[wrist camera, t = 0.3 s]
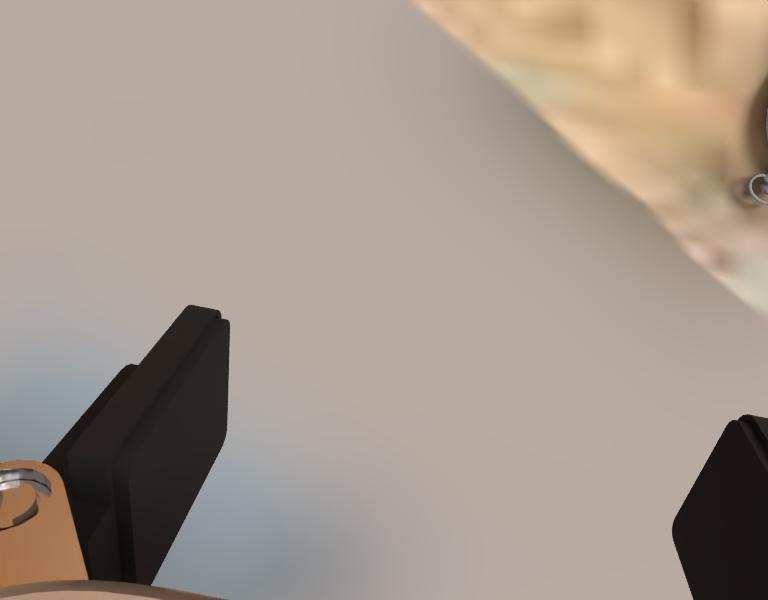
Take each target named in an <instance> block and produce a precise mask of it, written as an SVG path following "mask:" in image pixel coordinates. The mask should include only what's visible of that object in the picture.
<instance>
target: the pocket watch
mask: <svg viewBox="0 0 768 600" xmlns="http://www.w3.org/2000/svg"><path fill="white" fill-rule="evenodd" d="M766 132H767V139H768V110H767V117H766ZM757 177H763V180H764V181H765V183H766V184H764V183H763V184H762V185H761V186H760V187H761V190H762V192H763V193H765V194H768V173H767V174H766V175H765V174H758V175H755V176H753V177H752V178H751V179H750V181H749V184H748V189H749V192H750V194H751V195H752V197H753V198H754V199H755V200H757V201H758V202H760V203H762V204H766V205H768V202H766V201H763V200H761V199H759V198H758V197H757V196H756V195H755V194H754V192H753V190H752V182H753V180H754V179H755V178H757Z"/></svg>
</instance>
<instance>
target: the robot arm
mask: <svg viewBox="0 0 768 600" xmlns="http://www.w3.org/2000/svg"><path fill="white" fill-rule="evenodd" d="M229 342H230V323H229V321H228V320H226V319H221V313H220V311H219V310H215V309H210V308H205V307H199V306H194V305H188V306H187V307H186V308H185V309H184V310H183V312H182V313H181V314H180V315H179V316H178V318H177V319H176V320H175V321H174V322H173V324H172V325H171V326H170V327H169V329H168V330H167V331H166V332H165V334H164V335H163V336H162V337H161V338H160V340H159V341H158V342H157V343H156V344H155V346H154V347H153V348H152V350H150V352H149V353H148V354H147V356H146V357H145V358H144V359H143V360H142V361H141V363H140V364H139V365H134V364H130V365H126V366H125V367H124V368H123V369H122V370H121V371H120V372H119V373H118V374H117V375H116V377H115V378H114V379H113V380H112V381H111V382H110V384H109V385H108V386H107V387H106V388H105V389H104V391H103V392H102V393H101V394H100V395H99V397H98V398H97V399H96V400H95V401H94V402H93V404H92V405H91V406H90V407H89V408H88V410H87V411H86V412H85V413H84V414H83V415H82V416H81V418H80V419H79V420H78V421H77V422H76V423H75V425H74V426H73V427H72V428H71V429H70V431H69V432H68V433H67V434H66V435H65V437H64V438H63V439H62V440H61V441H60V442H59V443H58V445H57V446H56V447H55V448H54V449H53V451H52V452H51V453H50V454H49V455H48V456H47V457H46V459H45V460H44V461H43V462H42V463H40V462H36V461H23V460H16V461H11V462H5V463H0V600H227V599H221V598H217V597H212V596H206V595H201V594H195V593H191V592H185V591H180V590H174V589H169V588H162V587H154V586H151V584H152V582H153V580H154V579H155V576H156V574H157V573H158V571H159V569H160V567H161V565H162V563H163V561H164V559H165V557H166V555H167V553H168V551H169V549H170V547H171V545H172V543H173V542H174V539H175V537H176V536H177V534H178V532H179V530H180V528H181V526H182V524H183V522H184V520H185V518H186V516H187V514H188V512H189V510H190V508H191V506H192V504H193V503H194V501H195V499H196V497H197V495H198V493H199V491H200V489H201V487H202V485H203V483H204V481H205V479H206V477H207V475H208V473H209V471H210V469H211V467H212V466H213V464H214V462H215V460H216V458H217V456H218V454H219V452H220V450H221V448H222V446H223V443H224V440H225V437H226V432H227V412H228V377H229V376H228V375H229ZM672 536H673V541H674V544H675V547H676V550H677V552H678V555H679V559H680V561H681V564H682V567H683V570H684V573H685V576H686V579H687V582H688V585H689V588H690V591H691V594H692V597H693V600H768V418H763V417H758V416H753V415H748V414H747V415H743V416H742V417H740V418H739V419H738V420H732V421H731V422H729V423H728V425H727V426H726V428H725V430H724V431H723V433H722V435H721V437H720V439H719V440H718V442H717V444H716V446H715V447H714V449H713V451H712V453H711V455H710V457H709V458H708V460H707V462H706V463H705V465H704V467H703V469H702V471H701V472H700V475H699V476H698V478H697V480H696V481H695V483H694V485H693V487H692V488H691V490H690V492H689V494H688V496H687V497H686V499H685V501H684V503H683V505H682V506H681V508H680V510H679V512H678V514H677V515H676V517H675V519H674V522H673V526H672Z"/></svg>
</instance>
